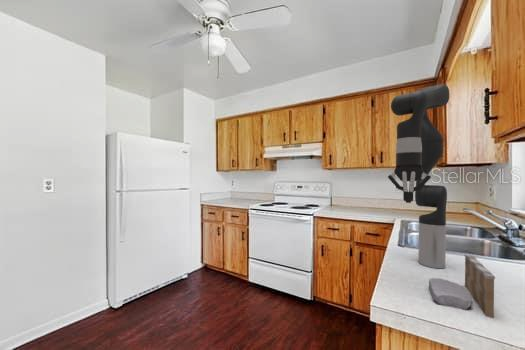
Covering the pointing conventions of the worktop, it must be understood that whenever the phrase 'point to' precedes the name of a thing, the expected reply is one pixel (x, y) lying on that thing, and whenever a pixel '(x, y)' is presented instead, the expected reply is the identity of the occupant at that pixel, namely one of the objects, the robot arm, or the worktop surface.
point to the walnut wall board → (480, 284)
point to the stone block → (449, 293)
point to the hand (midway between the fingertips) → (408, 202)
